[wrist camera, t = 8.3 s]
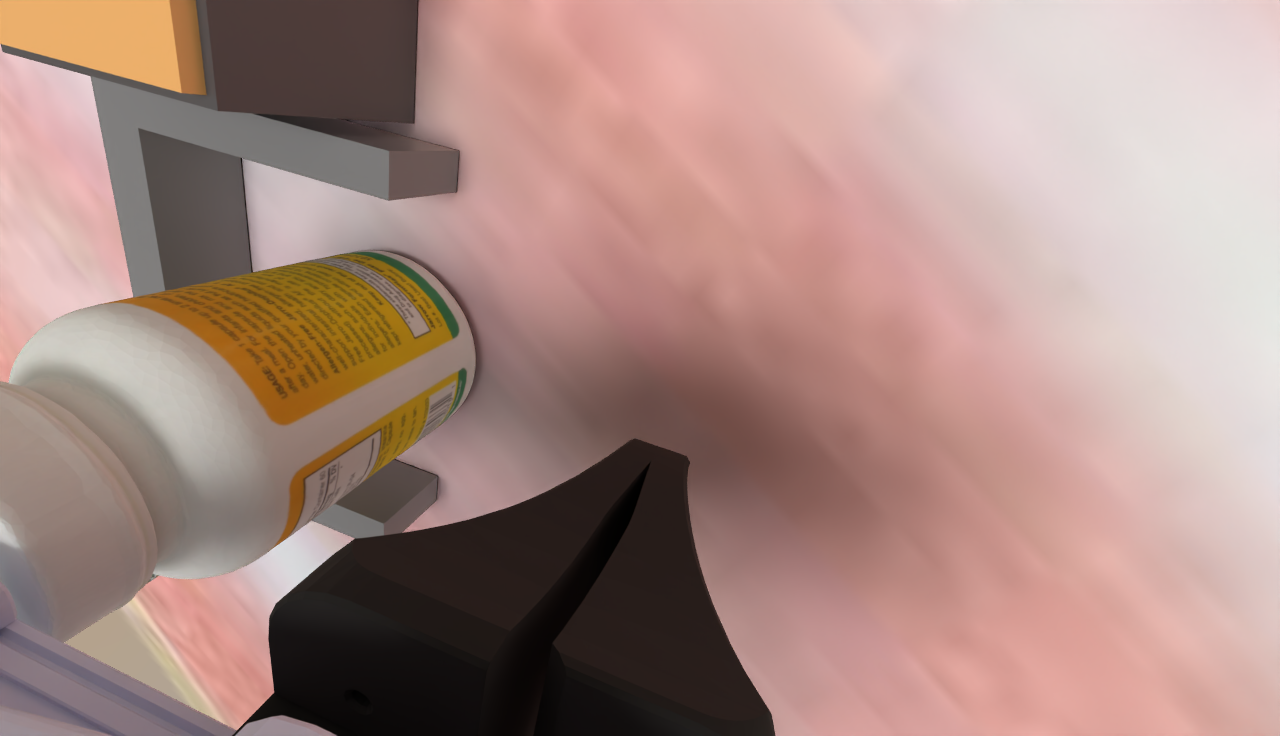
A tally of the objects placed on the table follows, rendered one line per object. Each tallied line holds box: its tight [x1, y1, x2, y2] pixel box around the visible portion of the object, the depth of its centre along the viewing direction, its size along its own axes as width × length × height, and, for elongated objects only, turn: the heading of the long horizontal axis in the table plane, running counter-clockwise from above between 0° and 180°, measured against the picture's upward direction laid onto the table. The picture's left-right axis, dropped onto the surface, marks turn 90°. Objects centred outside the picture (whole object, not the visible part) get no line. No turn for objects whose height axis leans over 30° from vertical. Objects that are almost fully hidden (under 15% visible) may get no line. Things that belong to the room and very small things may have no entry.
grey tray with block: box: [0, 0, 459, 538], centre depth 13 cm, size 20×8×5 cm, turn 168°
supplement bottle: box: [0, 250, 476, 643], centre depth 12 cm, size 5×5×10 cm
